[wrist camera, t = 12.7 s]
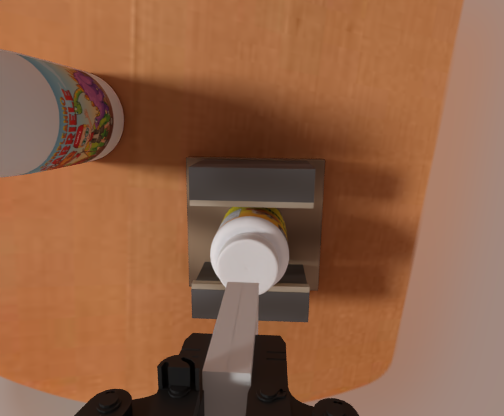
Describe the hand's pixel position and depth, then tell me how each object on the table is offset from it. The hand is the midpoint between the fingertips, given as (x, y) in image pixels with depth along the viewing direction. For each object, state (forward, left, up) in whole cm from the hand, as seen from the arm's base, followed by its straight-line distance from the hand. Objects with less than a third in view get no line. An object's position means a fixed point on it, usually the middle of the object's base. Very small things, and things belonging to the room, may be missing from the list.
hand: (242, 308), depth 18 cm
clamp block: (0, 0, -17) cm, 17 cm away
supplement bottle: (0, 0, -16) cm, 16 cm away
